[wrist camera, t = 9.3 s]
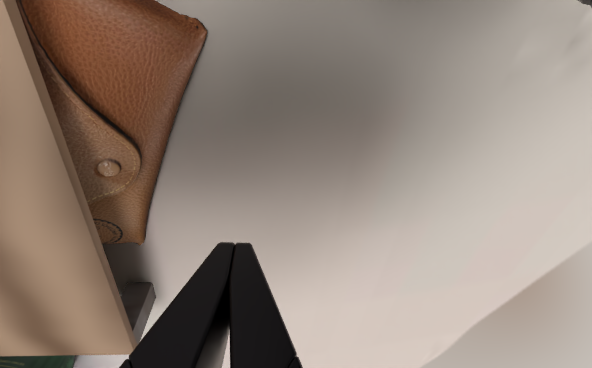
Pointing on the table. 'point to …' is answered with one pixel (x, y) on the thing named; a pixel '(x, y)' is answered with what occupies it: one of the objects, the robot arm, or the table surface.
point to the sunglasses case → (114, 96)
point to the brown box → (51, 228)
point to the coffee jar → (37, 361)
